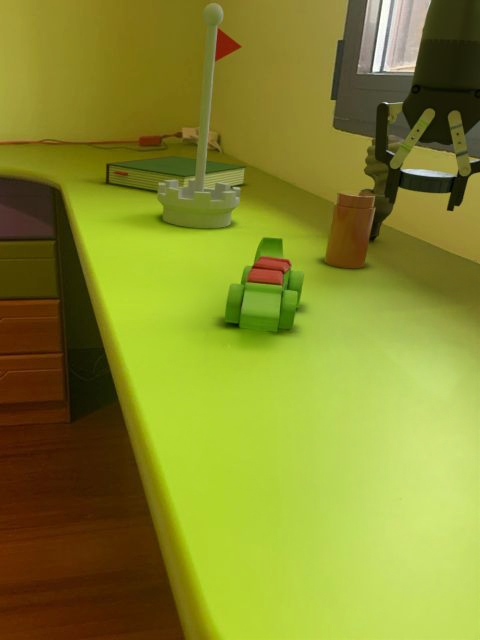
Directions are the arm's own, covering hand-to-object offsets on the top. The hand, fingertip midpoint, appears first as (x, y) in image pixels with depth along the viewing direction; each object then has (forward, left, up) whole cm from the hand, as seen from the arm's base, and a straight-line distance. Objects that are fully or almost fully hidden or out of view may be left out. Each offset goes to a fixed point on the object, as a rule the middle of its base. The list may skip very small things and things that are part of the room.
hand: (420, 205), depth 79 cm
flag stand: (+24, -32, -10) cm, 41 cm away
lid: (0, 0, +3) cm, 3 cm away
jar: (+5, -9, -9) cm, 14 cm away
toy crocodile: (+19, +14, -10) cm, 25 cm away
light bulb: (-2, -24, -10) cm, 26 cm away
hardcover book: (+27, -69, -10) cm, 75 cm away
